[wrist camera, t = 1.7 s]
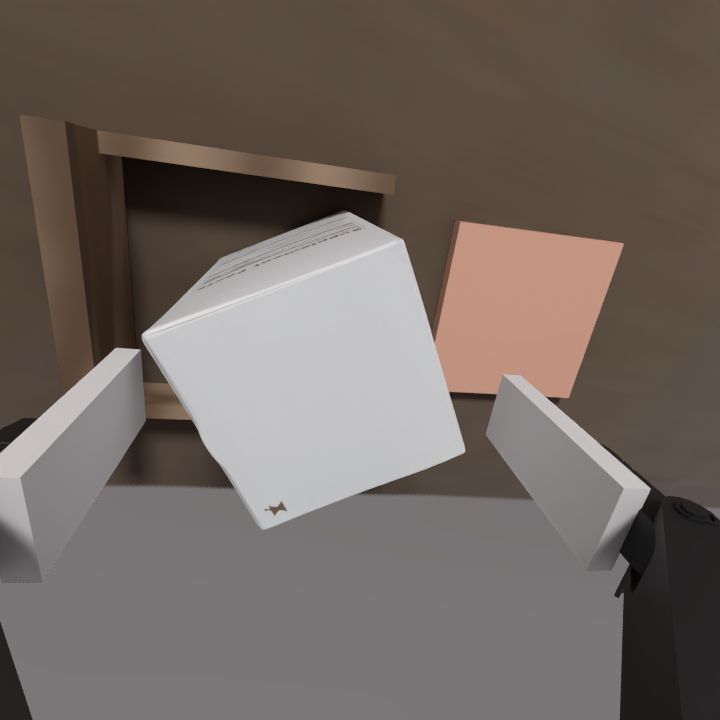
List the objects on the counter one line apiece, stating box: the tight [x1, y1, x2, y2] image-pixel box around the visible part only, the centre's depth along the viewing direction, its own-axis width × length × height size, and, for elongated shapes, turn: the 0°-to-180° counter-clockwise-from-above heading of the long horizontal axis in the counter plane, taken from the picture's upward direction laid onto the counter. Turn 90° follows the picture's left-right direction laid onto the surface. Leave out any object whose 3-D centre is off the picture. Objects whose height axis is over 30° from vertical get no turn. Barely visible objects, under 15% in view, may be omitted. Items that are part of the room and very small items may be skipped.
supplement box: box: [142, 210, 465, 530], centre depth 21 cm, size 9×9×15 cm
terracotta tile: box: [432, 220, 624, 398], centre depth 30 cm, size 12×12×1 cm
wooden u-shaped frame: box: [19, 114, 397, 420], centre depth 24 cm, size 16×16×7 cm
